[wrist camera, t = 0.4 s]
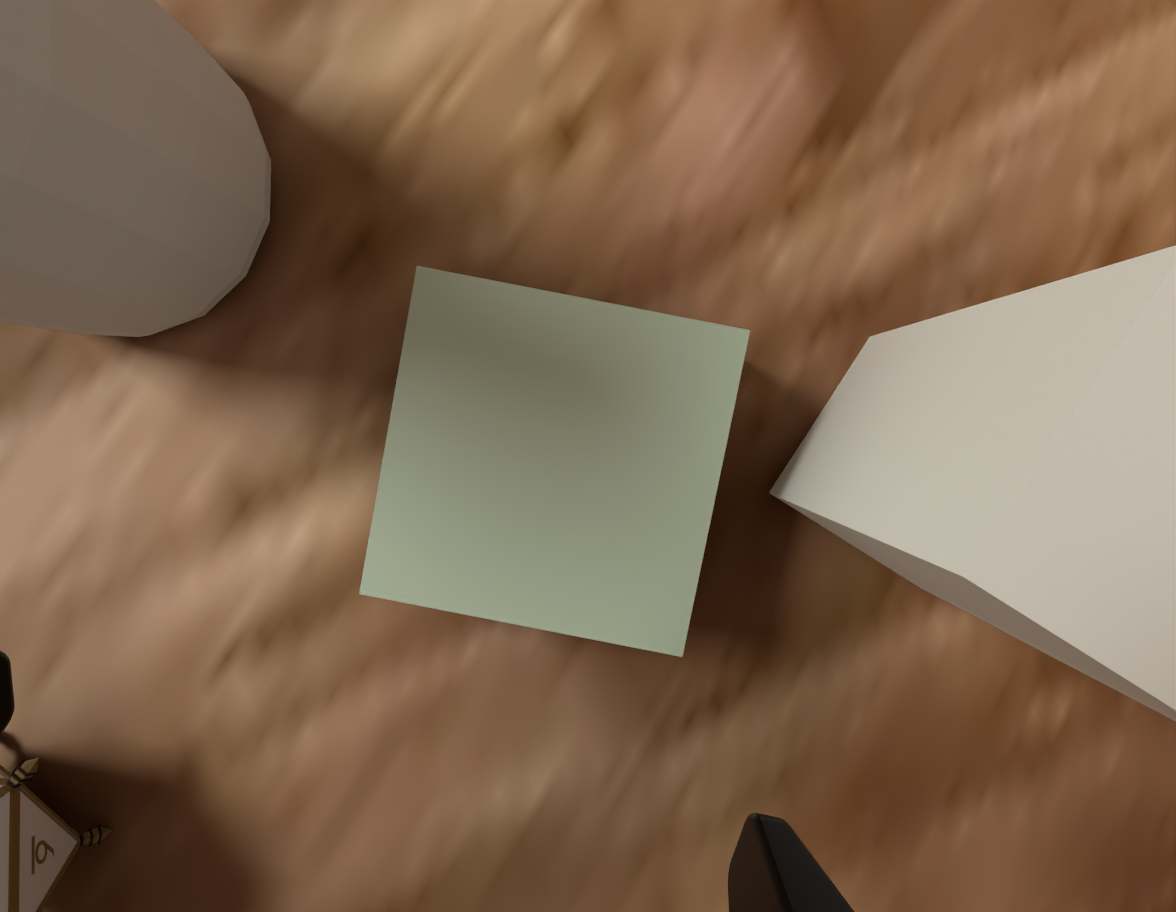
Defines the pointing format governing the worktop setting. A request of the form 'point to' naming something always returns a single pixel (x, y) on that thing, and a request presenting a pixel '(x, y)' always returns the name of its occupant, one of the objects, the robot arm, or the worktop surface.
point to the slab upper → (552, 460)
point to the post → (1022, 467)
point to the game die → (33, 843)
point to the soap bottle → (121, 170)
